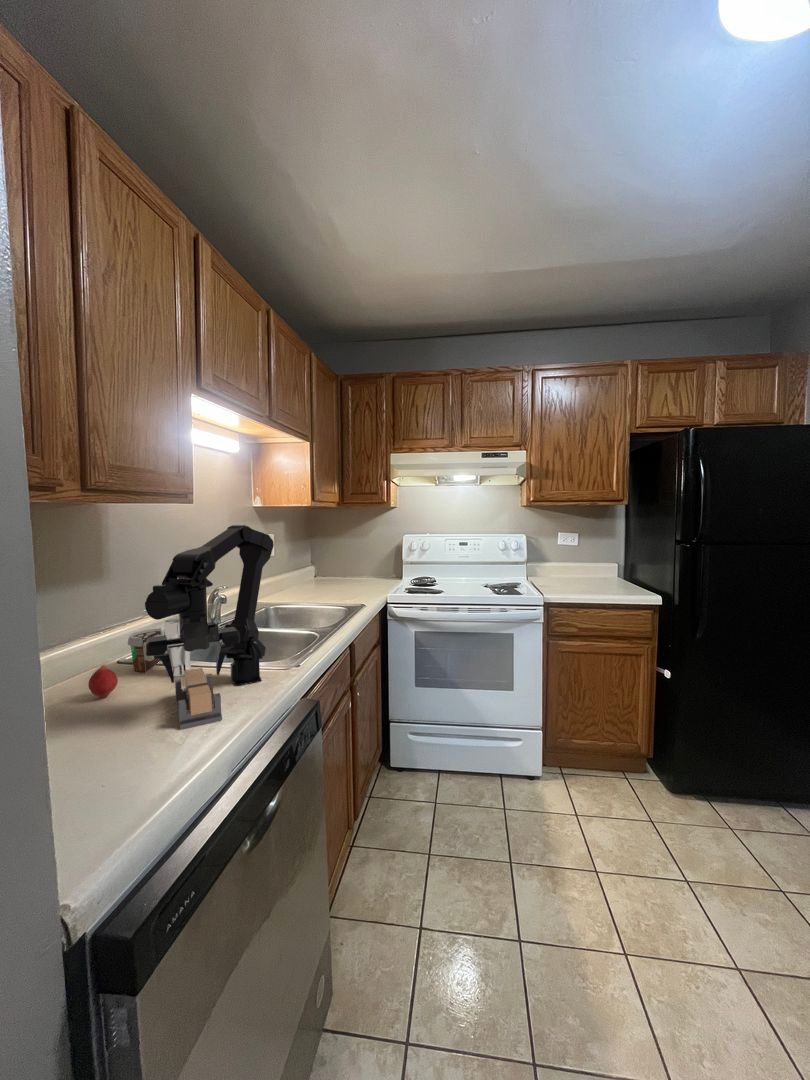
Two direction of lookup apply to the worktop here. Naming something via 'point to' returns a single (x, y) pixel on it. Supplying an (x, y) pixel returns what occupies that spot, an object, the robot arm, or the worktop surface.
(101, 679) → the onion
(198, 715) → the collar stand
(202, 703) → the banded tan post
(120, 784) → the worktop surface
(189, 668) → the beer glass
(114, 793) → the worktop surface
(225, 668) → the worktop surface
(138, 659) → the food container
